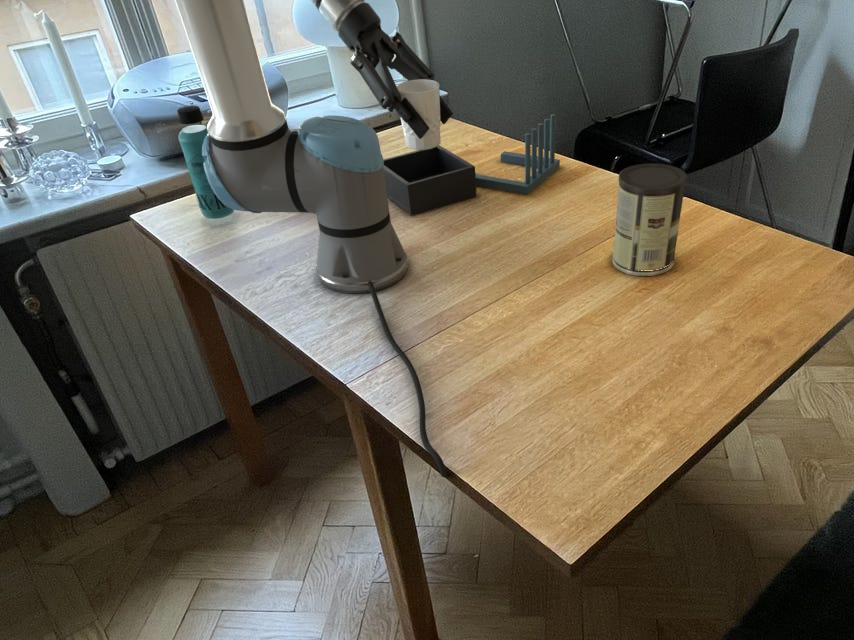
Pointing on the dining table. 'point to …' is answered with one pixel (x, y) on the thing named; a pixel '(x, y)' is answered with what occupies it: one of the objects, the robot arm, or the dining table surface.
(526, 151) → the drying rack
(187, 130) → the beverage bottle
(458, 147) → the dining table surface
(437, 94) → the white cup
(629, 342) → the dining table surface
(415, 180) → the black square tray
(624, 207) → the coffee can
